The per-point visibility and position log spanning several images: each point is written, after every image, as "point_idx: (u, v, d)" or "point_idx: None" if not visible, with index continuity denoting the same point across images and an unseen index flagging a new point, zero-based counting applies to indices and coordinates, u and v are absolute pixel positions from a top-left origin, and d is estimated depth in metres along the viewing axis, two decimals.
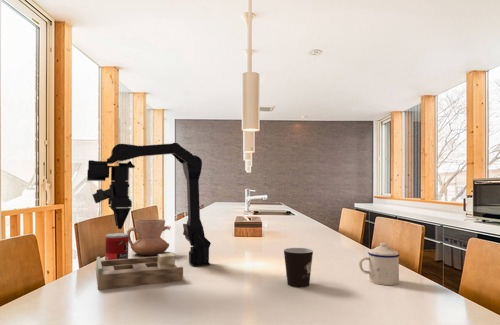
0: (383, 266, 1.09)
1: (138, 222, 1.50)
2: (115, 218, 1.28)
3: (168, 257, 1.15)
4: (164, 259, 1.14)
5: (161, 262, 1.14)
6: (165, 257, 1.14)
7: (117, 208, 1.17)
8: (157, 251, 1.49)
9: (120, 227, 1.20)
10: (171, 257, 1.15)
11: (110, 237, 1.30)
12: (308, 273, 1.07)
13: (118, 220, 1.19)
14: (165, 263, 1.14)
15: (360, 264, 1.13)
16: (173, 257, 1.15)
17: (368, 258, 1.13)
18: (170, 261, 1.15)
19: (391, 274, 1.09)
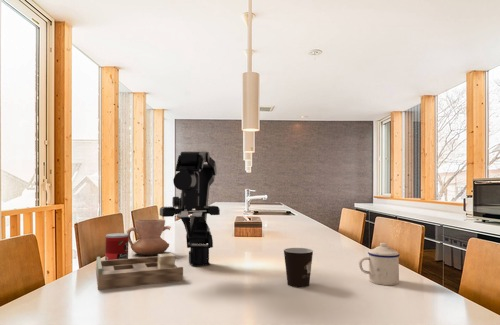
0: (383, 266, 1.09)
1: (138, 222, 1.50)
2: (189, 229, 1.21)
3: (168, 257, 1.15)
4: (164, 259, 1.14)
5: (161, 262, 1.14)
6: (165, 257, 1.14)
7: (178, 216, 1.20)
8: (157, 251, 1.49)
9: (188, 236, 1.20)
10: (171, 257, 1.15)
11: (110, 237, 1.30)
12: (308, 273, 1.07)
13: (185, 228, 1.20)
14: (165, 263, 1.14)
15: (360, 264, 1.13)
16: (173, 257, 1.15)
17: (368, 258, 1.13)
18: (170, 261, 1.15)
19: (391, 274, 1.09)
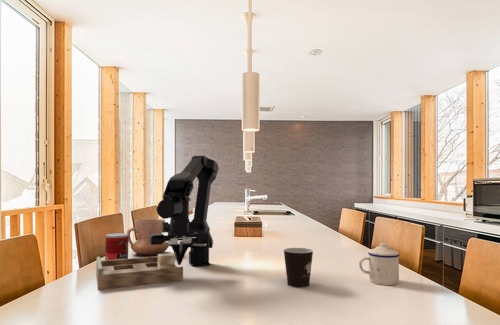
0: (383, 266, 1.09)
1: (138, 222, 1.50)
2: None
3: (168, 257, 1.15)
4: (164, 259, 1.14)
5: (161, 262, 1.14)
6: (165, 257, 1.14)
7: (167, 243, 1.18)
8: (157, 251, 1.49)
9: None
10: (171, 257, 1.15)
11: (110, 237, 1.30)
12: (308, 273, 1.07)
13: (175, 255, 1.18)
14: (165, 263, 1.14)
15: (360, 264, 1.13)
16: (173, 257, 1.15)
17: (368, 258, 1.13)
18: (170, 261, 1.15)
19: (391, 274, 1.09)
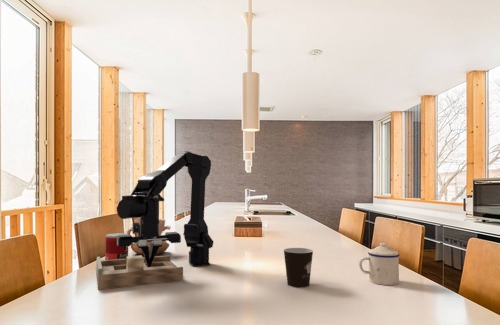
0: (383, 266, 1.09)
1: (138, 222, 1.50)
2: (149, 258, 1.15)
3: (136, 259, 1.11)
4: (132, 262, 1.10)
5: (129, 265, 1.10)
6: (133, 259, 1.10)
7: (136, 244, 1.14)
8: (157, 251, 1.49)
9: (147, 265, 1.14)
10: (140, 259, 1.11)
11: (110, 237, 1.30)
12: (308, 273, 1.07)
13: None
14: (133, 266, 1.10)
15: (360, 264, 1.13)
16: (142, 259, 1.11)
17: (368, 258, 1.13)
18: (139, 264, 1.11)
19: (391, 274, 1.09)
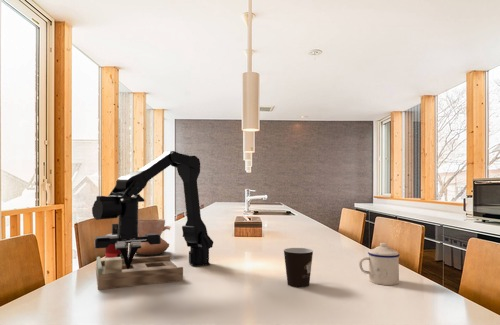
0: (383, 266, 1.09)
1: (138, 222, 1.50)
2: None
3: (114, 261, 1.08)
4: (110, 263, 1.08)
5: (106, 267, 1.07)
6: (111, 261, 1.08)
7: (115, 246, 1.12)
8: (157, 251, 1.49)
9: (126, 267, 1.12)
10: (118, 261, 1.09)
11: (110, 237, 1.30)
12: (308, 273, 1.07)
13: None
14: (111, 268, 1.08)
15: (360, 264, 1.13)
16: (120, 261, 1.09)
17: (368, 258, 1.13)
18: (117, 265, 1.09)
19: (391, 274, 1.09)
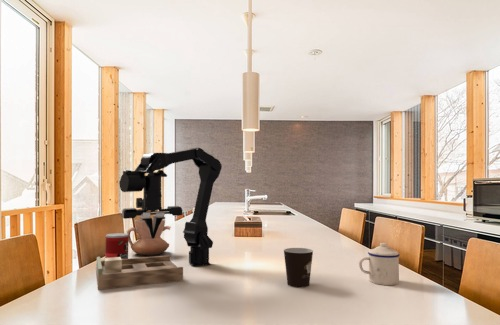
0: (383, 266, 1.09)
1: (138, 222, 1.50)
2: None
3: (114, 261, 1.08)
4: (110, 263, 1.08)
5: (106, 267, 1.07)
6: (111, 261, 1.08)
7: (140, 217, 1.21)
8: (157, 251, 1.49)
9: (151, 237, 1.21)
10: (117, 261, 1.09)
11: (110, 237, 1.30)
12: (308, 273, 1.07)
13: (148, 229, 1.22)
14: (111, 268, 1.08)
15: (360, 264, 1.13)
16: (120, 261, 1.09)
17: (368, 258, 1.13)
18: (116, 265, 1.09)
19: (391, 274, 1.09)
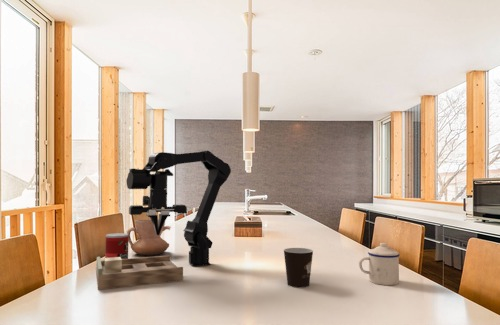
0: (383, 266, 1.09)
1: (138, 222, 1.50)
2: None
3: (114, 261, 1.08)
4: (110, 263, 1.08)
5: (106, 267, 1.07)
6: (111, 261, 1.08)
7: (146, 214, 1.26)
8: (157, 251, 1.49)
9: (156, 233, 1.25)
10: (117, 261, 1.09)
11: (110, 237, 1.30)
12: (308, 273, 1.07)
13: None
14: (111, 268, 1.08)
15: (360, 264, 1.13)
16: (120, 261, 1.09)
17: (368, 258, 1.13)
18: (116, 265, 1.09)
19: (391, 274, 1.09)
